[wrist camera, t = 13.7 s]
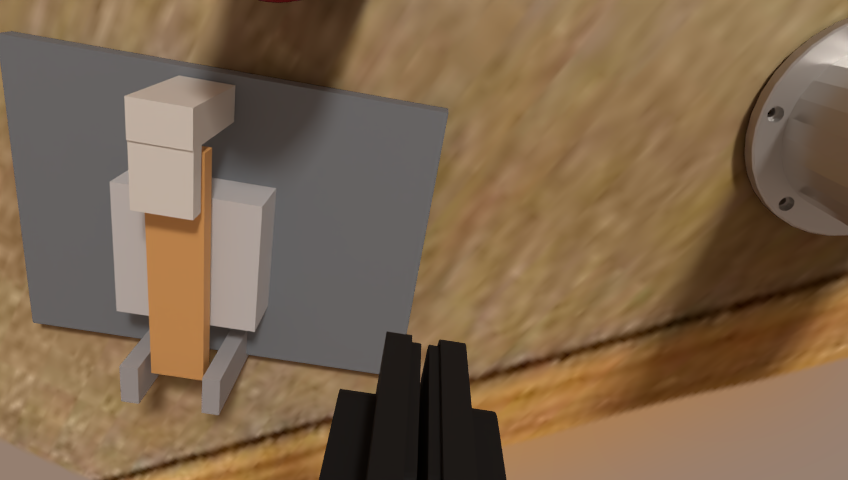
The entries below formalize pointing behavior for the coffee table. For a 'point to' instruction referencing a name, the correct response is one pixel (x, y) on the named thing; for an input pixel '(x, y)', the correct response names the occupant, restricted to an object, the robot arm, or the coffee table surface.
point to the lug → (173, 142)
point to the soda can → (279, 1)
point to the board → (266, 143)
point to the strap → (180, 286)
